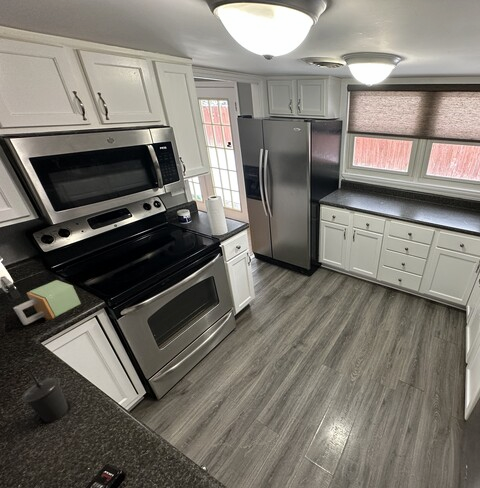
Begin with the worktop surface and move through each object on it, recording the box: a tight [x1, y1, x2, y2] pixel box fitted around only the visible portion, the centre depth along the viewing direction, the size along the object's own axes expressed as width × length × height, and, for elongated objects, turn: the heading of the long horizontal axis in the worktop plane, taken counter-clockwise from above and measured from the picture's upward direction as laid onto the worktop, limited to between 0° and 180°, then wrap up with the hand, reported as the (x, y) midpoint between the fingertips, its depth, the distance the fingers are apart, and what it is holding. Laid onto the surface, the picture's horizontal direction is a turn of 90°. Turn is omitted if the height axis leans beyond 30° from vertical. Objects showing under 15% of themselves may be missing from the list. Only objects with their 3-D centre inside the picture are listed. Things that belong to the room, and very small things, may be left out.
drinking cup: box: [21, 371, 69, 423], centre depth 77 cm, size 8×8×20 cm
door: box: [13, 291, 56, 326], centre depth 114 cm, size 8×12×13 cm, turn 69°
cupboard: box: [28, 279, 82, 318], centre depth 122 cm, size 10×12×13 cm
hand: (8, 295), depth 107 cm, fingers open, 9 cm apart
